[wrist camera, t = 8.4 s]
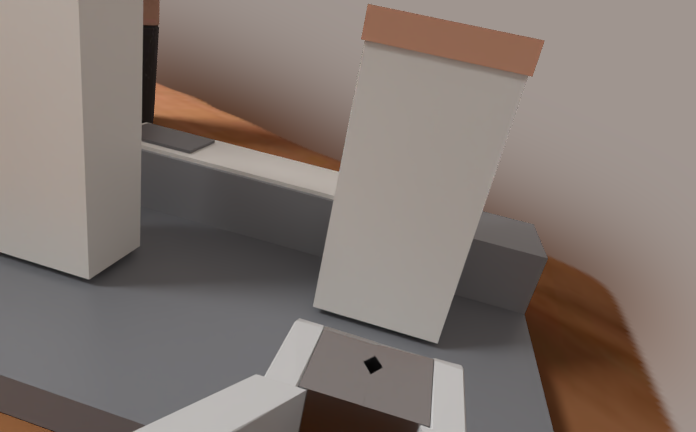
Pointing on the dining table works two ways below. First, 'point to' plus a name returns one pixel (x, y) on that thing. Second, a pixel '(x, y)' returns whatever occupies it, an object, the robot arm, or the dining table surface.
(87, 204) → the charcoal key
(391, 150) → the terracotta key
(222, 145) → the key console
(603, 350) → the dining table surface
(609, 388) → the dining table surface
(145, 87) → the travel mug
